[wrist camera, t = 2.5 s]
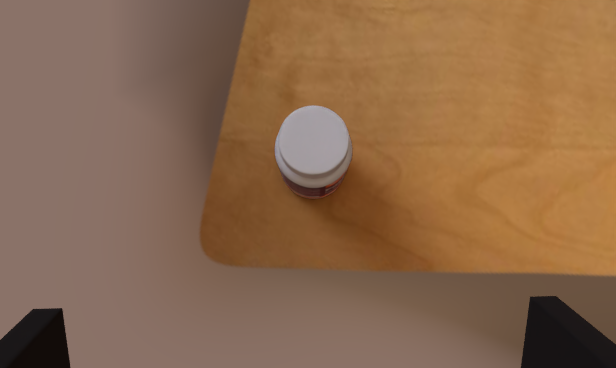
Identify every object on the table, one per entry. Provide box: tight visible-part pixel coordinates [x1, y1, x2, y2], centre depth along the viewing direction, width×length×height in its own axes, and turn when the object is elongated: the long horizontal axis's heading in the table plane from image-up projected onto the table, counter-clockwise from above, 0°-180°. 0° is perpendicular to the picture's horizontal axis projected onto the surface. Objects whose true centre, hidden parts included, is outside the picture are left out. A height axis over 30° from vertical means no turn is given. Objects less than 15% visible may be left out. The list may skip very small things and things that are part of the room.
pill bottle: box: [275, 106, 352, 199], centre depth 29 cm, size 5×5×8 cm
